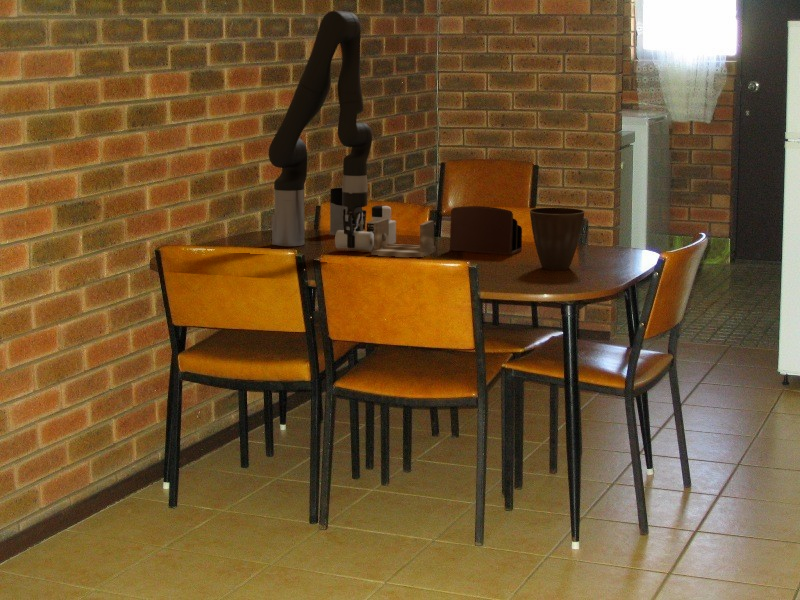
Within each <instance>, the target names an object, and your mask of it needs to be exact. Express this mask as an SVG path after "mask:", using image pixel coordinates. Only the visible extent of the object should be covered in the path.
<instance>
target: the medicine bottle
mask: <svg viewBox="0 0 800 600" xmlns="http://www.w3.org/2000/svg"><path fill="white" fill-rule="evenodd" d="M383 219H389V244H397V243H396V242H397V221H396V220H394V219H393V220H392V208H391V206H388V205H381V204H379V205H374V206H372V207H371V220H370V221H367V222H366V232H373V234H374V222H377V221H380V220H383Z"/></svg>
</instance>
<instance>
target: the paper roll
mask: <svg viewBox="0 0 800 600" xmlns="http://www.w3.org/2000/svg"><path fill="white" fill-rule="evenodd" d="M334 246H335V247H336V249H341V250H342V249H345V250H361V251H372V250H374V234H373V232H367V231H364V230H363V231H355V247H354V248H348V247H347V235H346V234H344V230H338V231H337V232H336V235H335V237H334Z"/></svg>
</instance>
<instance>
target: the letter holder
mask: <svg viewBox="0 0 800 600" xmlns="http://www.w3.org/2000/svg"><path fill="white" fill-rule="evenodd" d="M449 231H450V232H449V233H450V234H449V236H450V237H449V251H450V252H463V253H479V254H490V255H492V254H493V255H501V256H502V255H504V256H506V255H507V256H512V255H514V254H515V255H516V254H518V253H519V252H521V251H522V248H523V227H522V226H521V225H518V220H517V219H516V218H514V213H513V212H512V211H511V210H510V209H509V210H508V209H504V208H499V207H491V206H484V205H483V206H480V205H478V206H477V205H473V206H472V205H471V206H469V205H468V206H457V207H452V208H451V210H450V230H449Z"/></svg>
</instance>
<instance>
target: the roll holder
mask: <svg viewBox="0 0 800 600" xmlns="http://www.w3.org/2000/svg"><path fill="white" fill-rule="evenodd" d="M434 227H435V222H434V220H428V221H425V222H423V223H420V224H419V244H417V245H416V244H402V243H401V244H400V243H399V244H397V243H394V244H389V219H383V220H380V221H377V222H374V246H373V249H372V250H371V256H372V255H378V256H377V257H391V256H395V257H396V258H409V257H423V258H425V257H427V256H429V255H431V254H434V253H435V252H436V246H435V244H434V242H435V241H434V238H435V237H434V235H435V234H434V233H435V231H434V229H435V228H434ZM424 256H425V257H424ZM395 257H394V258H395Z"/></svg>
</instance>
